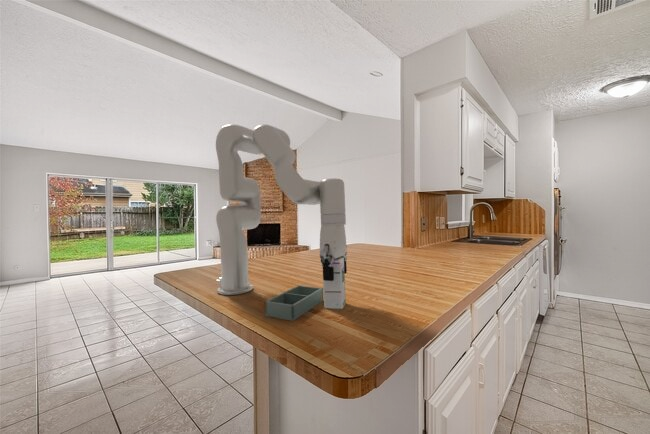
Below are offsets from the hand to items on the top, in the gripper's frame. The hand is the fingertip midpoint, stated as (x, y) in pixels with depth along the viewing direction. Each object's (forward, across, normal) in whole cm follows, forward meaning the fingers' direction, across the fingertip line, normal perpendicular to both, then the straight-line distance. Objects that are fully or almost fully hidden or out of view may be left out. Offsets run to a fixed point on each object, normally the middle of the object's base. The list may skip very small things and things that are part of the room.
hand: (335, 276), depth 84 cm
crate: (+9, +6, -11) cm, 15 cm away
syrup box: (+9, 0, -1) cm, 9 cm away
